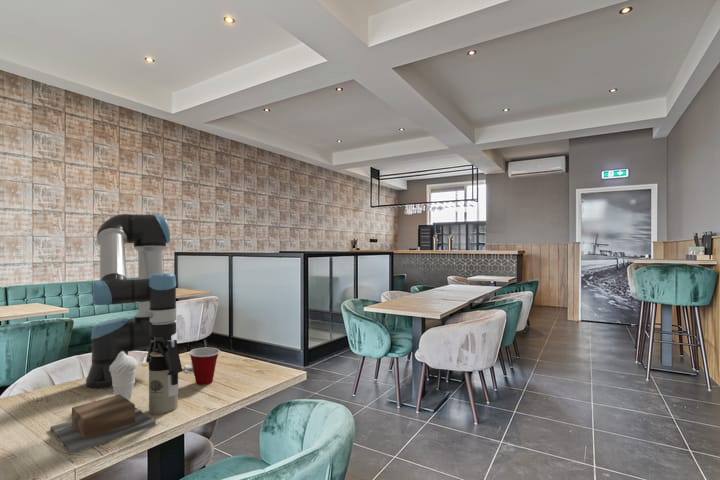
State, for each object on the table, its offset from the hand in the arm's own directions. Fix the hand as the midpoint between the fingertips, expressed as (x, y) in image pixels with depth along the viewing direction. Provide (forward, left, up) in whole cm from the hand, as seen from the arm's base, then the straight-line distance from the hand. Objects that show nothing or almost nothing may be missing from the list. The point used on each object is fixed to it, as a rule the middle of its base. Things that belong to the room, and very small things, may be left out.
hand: (163, 390), depth 119 cm
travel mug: (0, 0, -6) cm, 6 cm away
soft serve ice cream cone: (-19, -5, -6) cm, 21 cm away
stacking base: (-1, -16, -6) cm, 17 cm away
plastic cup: (-12, +20, -6) cm, 24 cm away
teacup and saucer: (-32, +27, -7) cm, 43 cm away
